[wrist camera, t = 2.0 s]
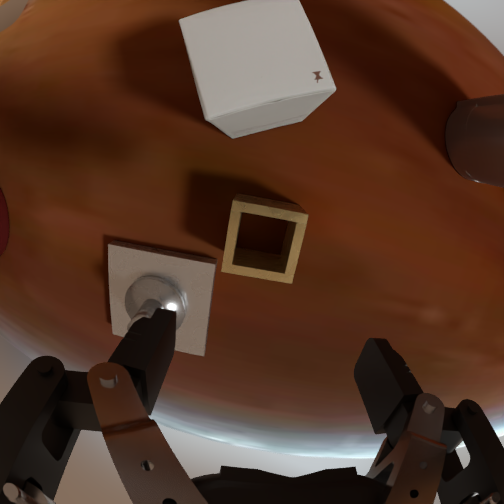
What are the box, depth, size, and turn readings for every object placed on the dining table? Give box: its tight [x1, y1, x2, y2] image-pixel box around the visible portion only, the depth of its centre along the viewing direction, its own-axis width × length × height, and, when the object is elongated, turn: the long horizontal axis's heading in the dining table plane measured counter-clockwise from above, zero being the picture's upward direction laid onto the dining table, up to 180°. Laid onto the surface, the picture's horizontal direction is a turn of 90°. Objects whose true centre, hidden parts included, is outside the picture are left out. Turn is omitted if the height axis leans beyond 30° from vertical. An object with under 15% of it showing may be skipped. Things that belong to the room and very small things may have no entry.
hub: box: [221, 193, 308, 283], centre depth 25 cm, size 6×6×5 cm
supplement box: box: [179, 0, 336, 139], centre depth 18 cm, size 7×7×13 cm
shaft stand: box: [108, 240, 217, 356], centre depth 27 cm, size 12×12×7 cm
